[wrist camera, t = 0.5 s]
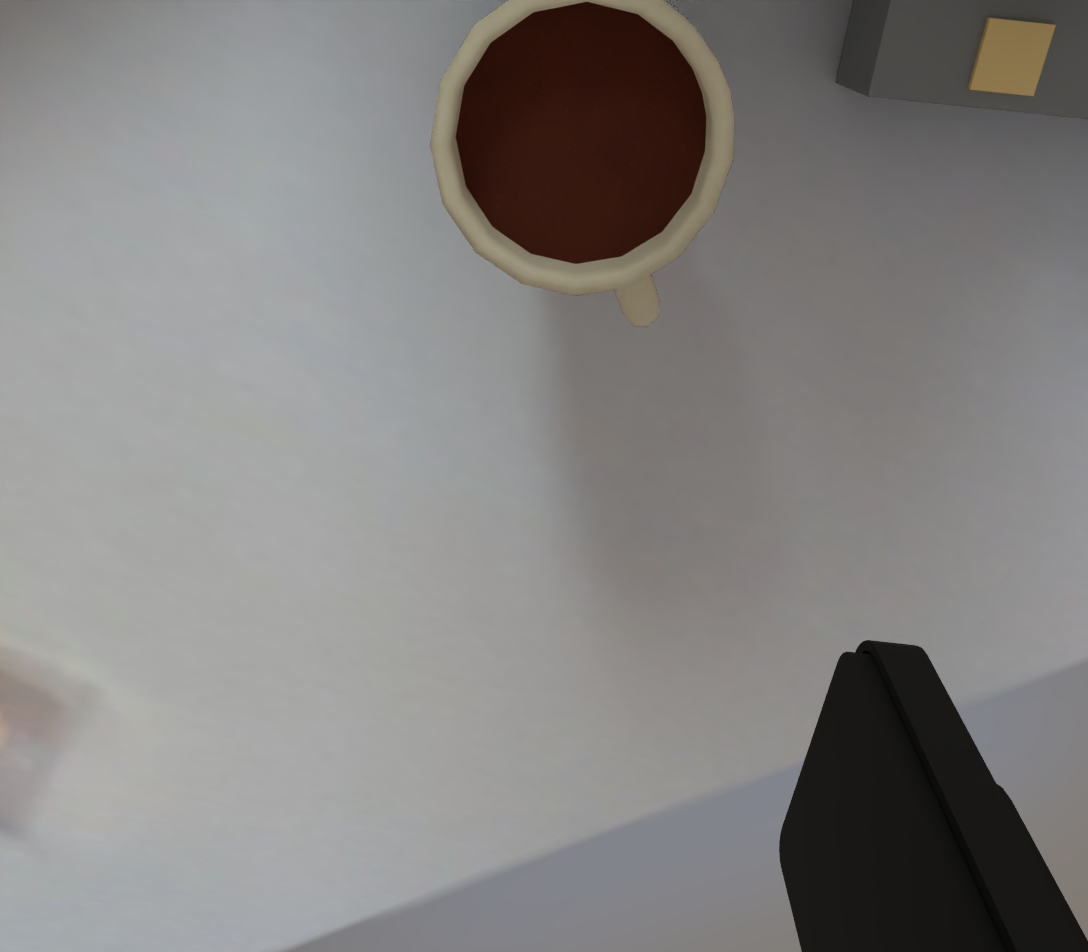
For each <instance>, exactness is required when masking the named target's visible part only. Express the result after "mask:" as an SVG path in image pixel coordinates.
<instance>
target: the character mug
mask: <svg viewBox="0 0 1088 952" xmlns="http://www.w3.org/2000/svg"><path fill="white" fill-rule="evenodd" d="M734 124H735V118H734V112H733V105H732V99H731V92H730V88H729V86H728V83H727V81H726V79H725V76H724V74H723V71H722V69H721V66H720V64H719V62H718V60H717V59H716V57H715V56H714V54H713V53H712V52H711V50H710V49H709V47H708V46H707V44H706V43H705V41H704V40H703V38H702V37H701V36H700V34H699V33H698V31H697V30H696V28H695V27H694V26H693V25H692V24H691V23H689V22H688V21H687V19H686V18H685V17H684V16H682V15H681V14H680V13H679V12H678V11H677V10H675V9H674V8H673V7H672V6H671V5H670V4H668V3H667V2H666V1H665V0H508V1H507V2H505V3H504V4H502V5H501V6H500V7H498V8H497V9H495V10H494V11H493V12H491V13H490V14H488V15H487V16H486V17H484V18H483V19H481V20H480V21H479V22H477V23H476V24H475V25H474V26H473V27H472V29H471V31H470V32H469V34H468V36H467V37H466V39H465V41H464V42H463V44H462V46H461V47H460V49H459V51H458V52H457V54H456V56H455V57H454V59H453V61H452V62H451V64H450V66H449V67H448V69H447V71H446V72H445V74H444V75H443V77H442V79H441V83H440V89H439V95H438V101H437V107H436V113H435V119H434V125H433V131H432V137H431V143H430V147H431V152H432V156H433V161H434V166H435V170H436V175H437V180H438V184H439V189H440V194H441V199H442V203H443V205H444V207H445V208H446V210H447V211H448V213H449V214H450V216H451V217H452V219H453V220H454V222H455V223H456V225H457V226H458V227H459V229H460V230H461V232H462V233H463V235H464V236H465V238H466V239H467V241H468V242H469V244H470V245H471V247H472V248H473V249H474V251H475V252H476V253H477V254H479V255H480V256H482V257H483V258H485V259H486V260H488V261H489V262H491V263H492V264H493V265H495V266H496V267H498V268H499V269H501V270H502V271H504V272H505V273H507V274H508V275H510V276H511V277H513V278H514V279H516V280H517V281H519V282H520V283H522V284H525V285H530V286H534V287H539V288H543V289H548V290H552V291H557V292H561V293H565V294H570V295H574V296H578V295H584V294H590V293H597V292H603V291H609V290H614V291H615V293H616V296H617V299H618V302H619V304H620V307H621V310H622V312H623V315H624V316H625V317H626V318H627V319H628V320H629V321H630V323H631V324H632V325H633V326H642V327H648V326H649V325H650V324H651V323H652V322H653V321H654V320H655V319H656V318H657V317H658V314H659V303H660V301H659V297H658V294H657V290H656V287H655V284H654V280H653V277H652V273H654V272H655V271H657V270H658V269H660V268H662V267H663V266H665V265H667V264H668V263H670V262H671V261H673V260H675V259H676V258H678V257H679V256H680V254H681V253H682V252H683V251H684V249H685V248H686V247H687V246H688V244H689V243H690V242H691V241H692V239H693V238H694V237H695V236H696V234H697V233H698V232H699V231H700V229H701V228H702V227H703V226H704V224H705V223H706V222H707V221H708V219H709V218H710V217H711V216H712V214H713V213H714V211H715V208H716V206H717V203H718V200H719V197H720V195H721V192H722V189H723V186H724V183H725V181H726V178H727V175H728V172H729V170H730V167H731V164H732V161H733V145H734Z"/></svg>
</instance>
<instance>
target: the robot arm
mask: <svg viewBox="0 0 1088 952" xmlns="http://www.w3.org/2000/svg"><path fill="white" fill-rule="evenodd" d="M779 849H780V850H779V852H780V863H781V868H782V872H783V876H784V880H785V884H786V888H787V893H788V897H789V900H790V905H791V909H792V913H793V917H794V921H795V925H796V929H797V933H798V938H799V942H800V946H801V950H802V952H1088V941H1087V939H1086V937H1085V935H1084V933H1083V931H1082V930H1081V928H1080V926H1079V924H1078V922H1077V920H1076V918H1075V917H1074V915H1073V913H1072V911H1071V909H1070V907H1069V906H1068V904H1067V902H1066V900H1065V898H1064V896H1063V894H1062V893H1061V891H1060V889H1059V887H1058V885H1057V884H1056V882H1055V880H1054V878H1053V876H1052V874H1051V873H1050V871H1049V869H1048V867H1047V865H1046V863H1045V862H1044V860H1043V858H1042V856H1041V854H1040V852H1039V850H1038V849H1037V847H1036V845H1035V843H1034V841H1033V840H1032V838H1031V836H1030V834H1029V832H1028V830H1027V828H1026V826H1025V824H1024V823H1023V821H1022V819H1021V817H1020V815H1019V813H1018V812H1017V810H1016V808H1015V806H1014V804H1013V802H1012V801H1011V799H1010V798H1009V796H1008V795H1007V794H1006V792H1005V791H1004V789H1003V788H1002V787H1000V786H999V785H998V784H996V783H995V781H994V779H993V777H992V775H991V773H990V771H989V770H988V768H987V766H986V764H985V762H984V760H983V758H982V756H981V755H980V753H979V751H978V749H977V747H976V745H975V744H974V742H973V740H972V738H971V736H970V734H969V732H968V730H967V728H966V727H965V725H964V723H963V721H962V719H961V717H960V715H959V713H958V712H957V710H956V708H955V706H954V704H953V702H952V700H951V698H950V697H949V695H948V693H947V691H946V689H945V687H944V685H943V684H942V682H941V680H940V678H939V676H938V674H937V672H936V670H935V669H934V667H933V665H932V663H931V661H930V659H929V657H928V656H927V654H926V653H925V651H924V650H923V649H922V648H921V647H918V646H915V645H906V644H897V643H888V642H879V641H870V640H866V641H863V642H862V643H861V644H860V645H859V646H858V648H857V650H856V652H855V653H853V652H845V653H843V654H842V655H841V656H840V658H839V660H838V663H837V666H836V669H835V672H834V674H833V677H832V680H831V683H830V686H829V689H828V692H827V695H826V698H825V701H824V704H823V707H822V710H821V713H820V716H819V719H818V722H817V725H816V728H815V731H814V734H813V737H812V740H811V743H810V746H809V749H808V752H807V755H806V758H805V761H804V764H803V767H802V770H801V773H800V776H799V779H798V782H797V785H796V788H795V791H794V794H793V797H792V800H791V803H790V806H789V809H788V812H787V815H786V818H785V820H784V823H783V827H782V830H781V835H780V847H779Z"/></svg>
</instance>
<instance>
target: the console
mask: <svg viewBox="0 0 1088 952" xmlns="http://www.w3.org/2000/svg"><path fill="white" fill-rule="evenodd" d="M836 83H838V84H840V85H842V86H845V87H847V88H850V89H852V90H854V91H857V92H859V93H862V94H864V95H866V96H871V97H881V98H890V99H900V100H910V101H919V102H929V103H939V104H948V105H958V106H968V107H977V108H987V109H997V110H1006V111H1016V112H1026V113H1036V114H1045V115H1055V116H1065V117H1074V118H1084V119H1088V0H854V1H853V6H852V10H851V15H850V19H849V24H848V29H847V33H846V38H845V42H844V47H843V51H842V56H841V60H840V65H839V69H838V74H837V78H836Z"/></svg>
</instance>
